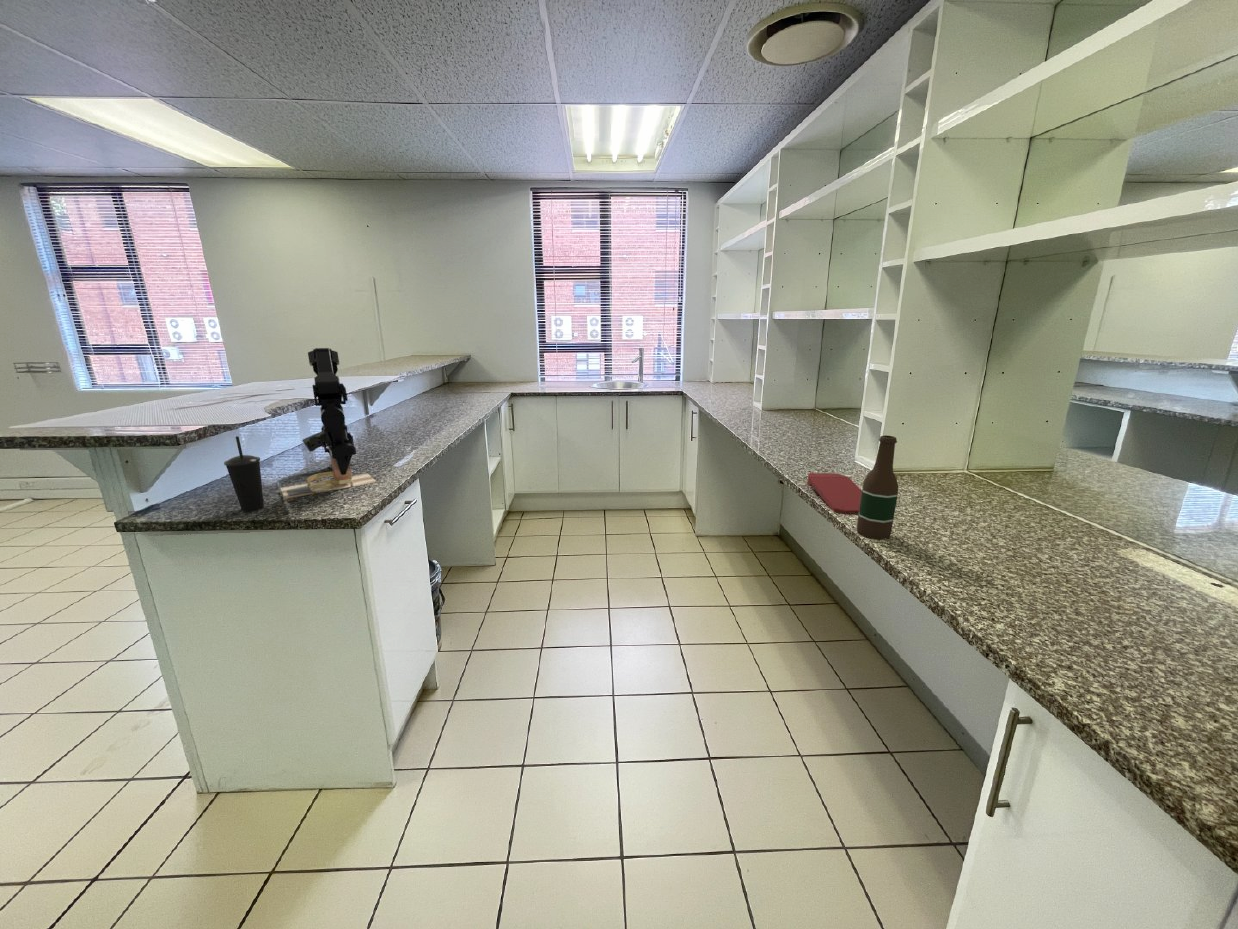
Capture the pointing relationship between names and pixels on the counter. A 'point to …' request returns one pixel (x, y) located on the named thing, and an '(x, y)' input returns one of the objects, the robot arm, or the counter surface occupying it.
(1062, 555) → the counter surface
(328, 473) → the bent wooden frame
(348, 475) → the block
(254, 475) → the drinking cup
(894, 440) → the beer bottle
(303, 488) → the beige board
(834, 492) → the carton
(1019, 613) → the counter surface
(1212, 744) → the counter surface
